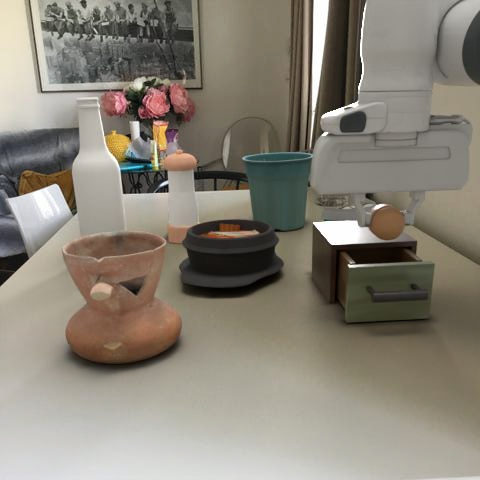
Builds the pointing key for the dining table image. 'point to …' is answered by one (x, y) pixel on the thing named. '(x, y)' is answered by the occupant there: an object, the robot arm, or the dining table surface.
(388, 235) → the egg
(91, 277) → the ceramic jug
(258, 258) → the casserole
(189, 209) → the salt shaker
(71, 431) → the dining table surface
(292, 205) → the flower pot
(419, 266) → the drawer
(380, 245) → the cabinet
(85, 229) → the alcohol
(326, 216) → the food container
